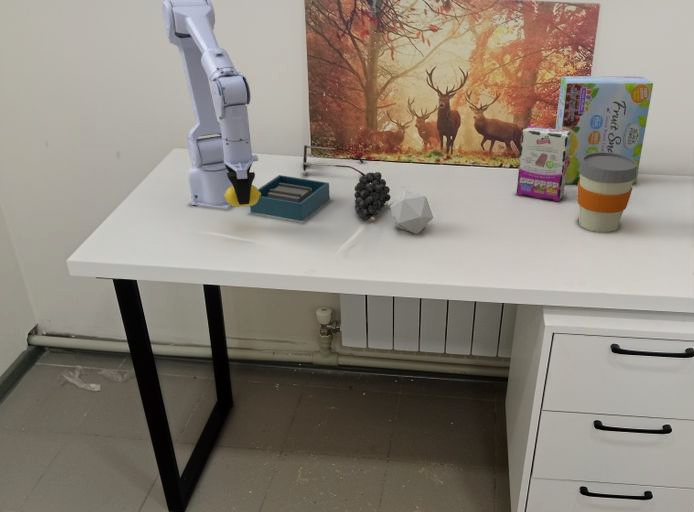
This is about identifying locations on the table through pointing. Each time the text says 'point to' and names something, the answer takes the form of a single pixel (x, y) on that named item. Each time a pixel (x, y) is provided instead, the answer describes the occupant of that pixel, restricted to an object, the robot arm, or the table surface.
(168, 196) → the table surface
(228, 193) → the lemon
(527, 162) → the candy bar box
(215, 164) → the robot arm
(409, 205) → the die
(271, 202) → the crate
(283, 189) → the grey block
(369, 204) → the fruit
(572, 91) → the snack box
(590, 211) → the reusable coffee cup
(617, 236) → the table surface
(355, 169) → the sunglasses
